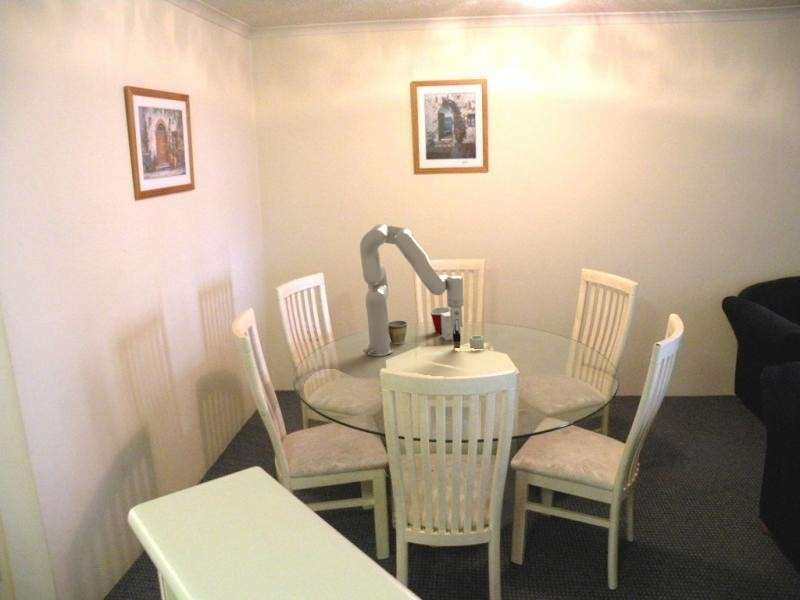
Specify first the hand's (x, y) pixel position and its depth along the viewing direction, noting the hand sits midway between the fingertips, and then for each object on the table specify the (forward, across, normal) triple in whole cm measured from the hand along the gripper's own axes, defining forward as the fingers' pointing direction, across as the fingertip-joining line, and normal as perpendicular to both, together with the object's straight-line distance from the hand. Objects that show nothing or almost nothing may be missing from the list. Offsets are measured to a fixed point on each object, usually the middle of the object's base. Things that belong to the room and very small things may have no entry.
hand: (456, 339), depth 303 cm
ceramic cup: (+5, +18, +28) cm, 33 cm away
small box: (+5, +18, +1) cm, 19 cm away
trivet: (+5, +1, -8) cm, 9 cm away
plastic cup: (+5, +30, +6) cm, 31 cm away
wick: (+4, 0, 0) cm, 4 cm away
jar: (+4, 0, -9) cm, 10 cm away
